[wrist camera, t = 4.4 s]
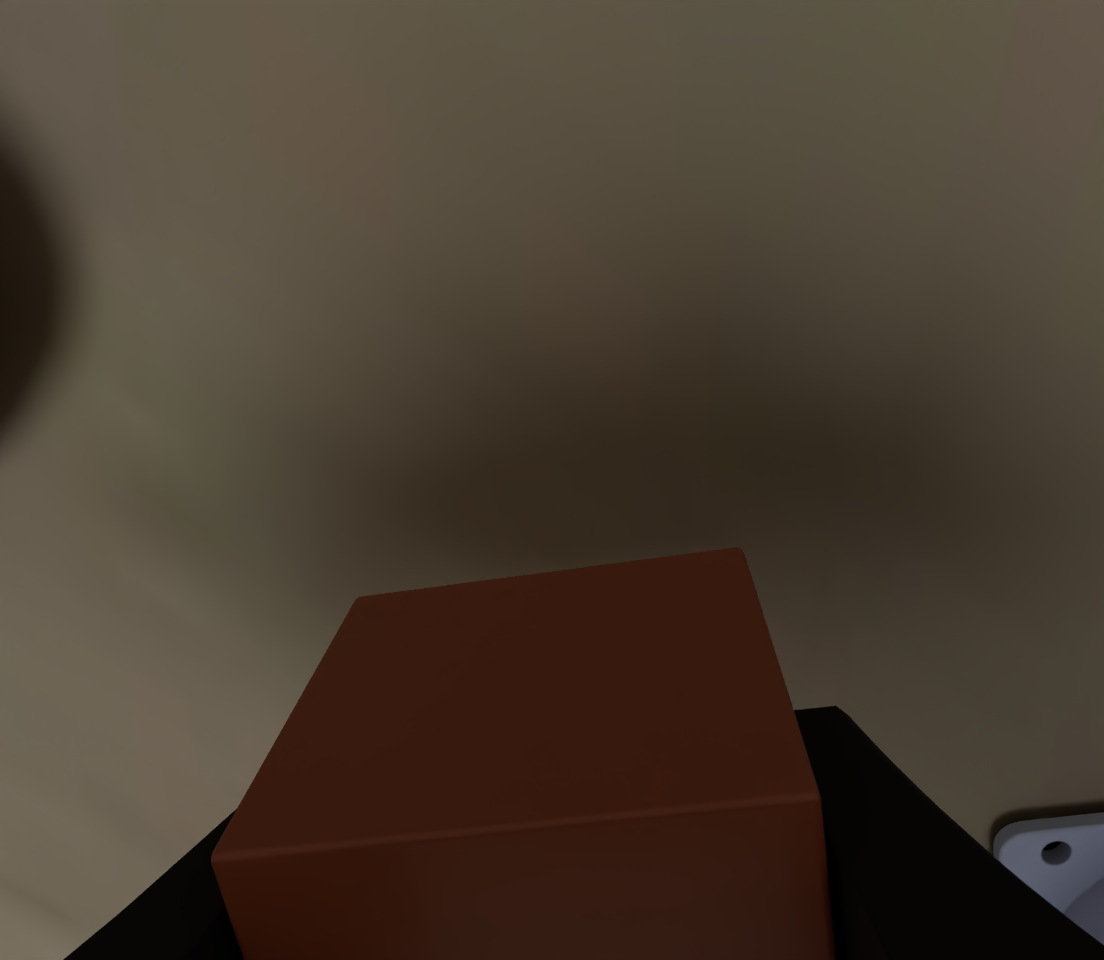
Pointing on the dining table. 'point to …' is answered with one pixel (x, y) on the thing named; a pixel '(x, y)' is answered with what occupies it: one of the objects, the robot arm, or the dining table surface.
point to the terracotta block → (539, 780)
